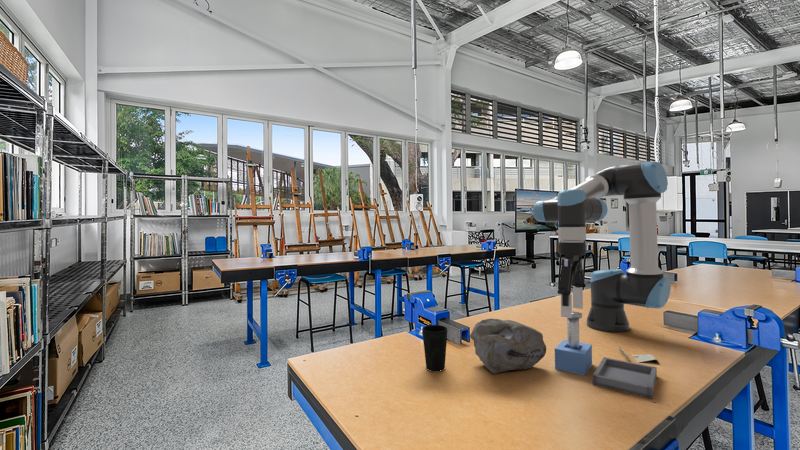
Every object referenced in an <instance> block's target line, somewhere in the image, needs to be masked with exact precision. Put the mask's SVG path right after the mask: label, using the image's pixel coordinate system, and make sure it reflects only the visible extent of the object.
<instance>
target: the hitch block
mask: <svg viewBox="0 0 800 450" xmlns="http://www.w3.org/2000/svg"><path fill="white" fill-rule="evenodd" d="M592 365H593V345H592V344H591V343H585V342H581V341H579V350H576V349H571V348H568V339H563V340H561V342H560V343H559V344H558V345H556V347H554V369H555V370H559V371H564V372H567V373H572V374H577V375H582V376H585V375H586V374H587V373H588V371H589V370H590V369H591V367H592Z"/></svg>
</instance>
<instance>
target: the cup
mask: <svg viewBox="0 0 800 450" xmlns="http://www.w3.org/2000/svg"><path fill="white" fill-rule="evenodd" d="M421 330H422V340H423V349H424V357H425V358H424V359H425V367H426V370H427V369H429V370H431V371H430V372H433V371H439V372H441V371H440V370H443V369H444V368H445V369H446V354H447V345H448V344H447V341H448V328H447V326H444V325H440V324H429V325H424V326H423V327H422V328H421ZM445 369H444V370H445ZM429 370H428V371H429ZM444 370H443V371H444Z"/></svg>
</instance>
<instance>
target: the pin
mask: <svg viewBox="0 0 800 450" xmlns="http://www.w3.org/2000/svg"><path fill="white" fill-rule="evenodd" d="M582 318H583V313H582V312H579V311H573V310H572V318H567V317H566V319H567V320H566V321H567V323H566V324H567V327H566V329H567V332H566V333H567V334H566V335H567V340H568V348H571V349H576V350H579V342H580V319H582Z"/></svg>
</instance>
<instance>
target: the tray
mask: <svg viewBox="0 0 800 450" xmlns="http://www.w3.org/2000/svg"><path fill="white" fill-rule="evenodd" d="M657 369H658V367H657V366H652V365H647V364H640V363H638V362H637V363H636V362H632V361H625V360H620V359H615V358H609V357H606V356H604V357H603V358H602V359H601V361H600V363H599V365H598V366H597V367H596V370H595V371H594V372H593V374H592V385H593V386H597V387H601V388H604V389H610V390H614V391H617V392H623V393H625V394H631V395H635V396H637V397H638V396H639V397H643V398H647V399H650V400H651V399H653V397H654V396H653V395H654V391H655V387H656V382H657V377H658V375H657V374H658V372H657Z"/></svg>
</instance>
